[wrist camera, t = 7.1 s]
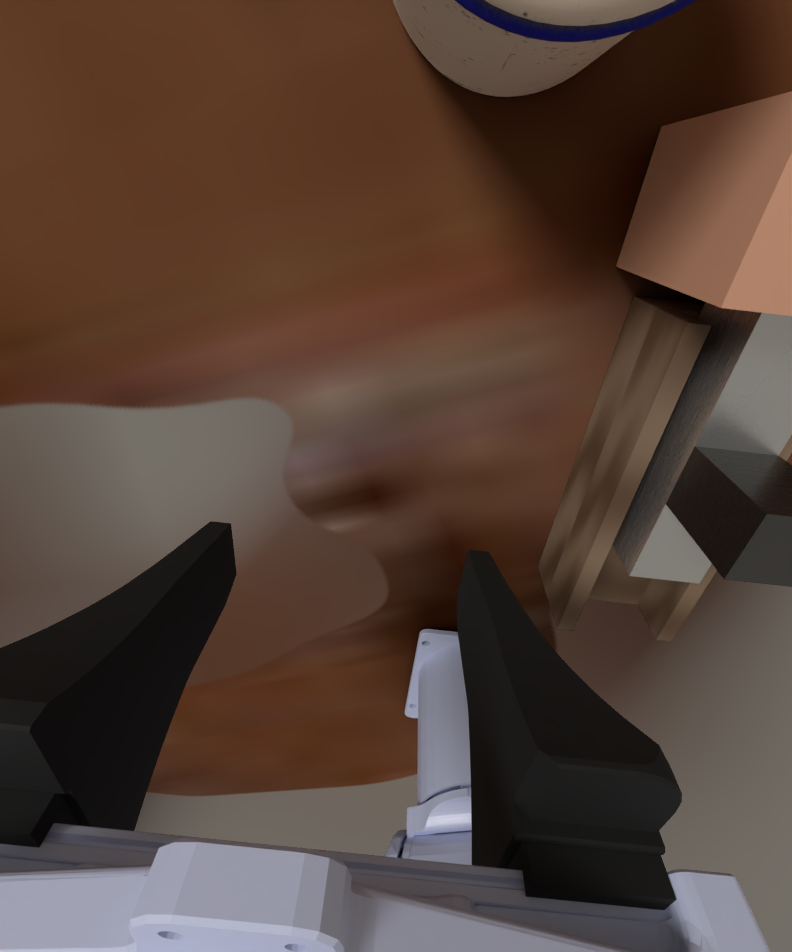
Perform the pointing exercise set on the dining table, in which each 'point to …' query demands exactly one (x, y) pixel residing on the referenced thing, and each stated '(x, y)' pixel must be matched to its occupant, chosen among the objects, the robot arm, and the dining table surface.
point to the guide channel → (625, 471)
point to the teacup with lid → (522, 37)
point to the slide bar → (721, 463)
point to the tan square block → (720, 209)
